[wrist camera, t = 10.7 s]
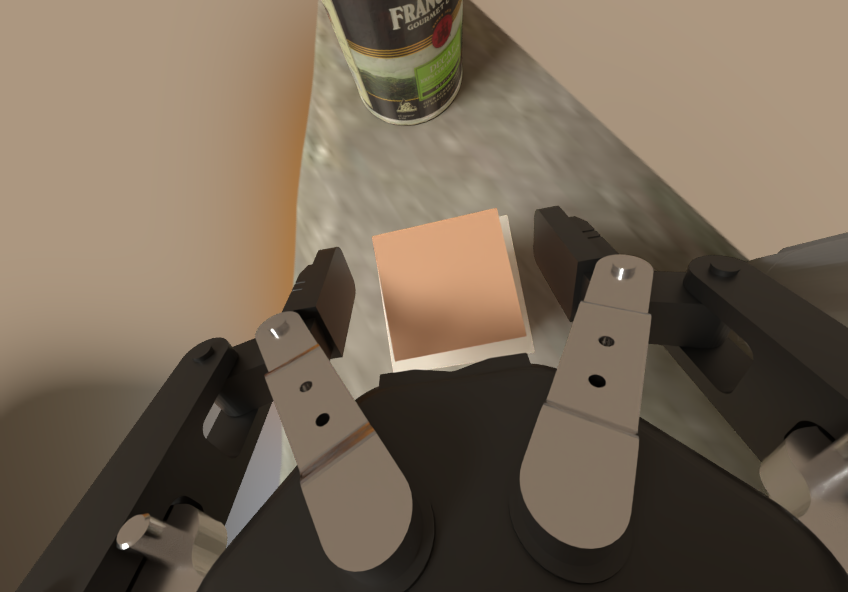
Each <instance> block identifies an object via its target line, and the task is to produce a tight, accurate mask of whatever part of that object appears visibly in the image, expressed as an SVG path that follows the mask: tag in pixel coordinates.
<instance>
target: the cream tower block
mask: <svg viewBox="0 0 848 592" xmlns="http://www.w3.org/2000/svg"><path fill="white" fill-rule="evenodd" d="M499 220H500V224H501V228H502V233H503V237H504V241H505V245H506V250H507V254H508V258H509V262H510V267H511V271H512V275H513V279H514V284H515V288H516V292H517V296H518V301H519V305H520V309H521V313H522V318H523V322H524V326H525V330H526V335H527V336H525V337H520V338H514V339H509V340H504V341H499V342H494V343H489V344H484V345H478V346H473V347H468V348H463V349H458V350H453V351H447V352H442V353H437V354H432V355H427V356H422V357H416V358H411V359H406V360H401V361H396V362H395V359H394V354H393V348H392V343H391V337H390V332H389V327H388V321H387V316H386V310H385V305H384V299H383V294H382V289H381V294H382V301H383V307H384V314H385V320H386V327H387V334H388V340H389V347H390V354H391V360H392V367H393V373H394V372H400V371H407V370H414V369H418V370H429V369H435V368H442V367H448V366H454V365H461V364H467V363H474V362H480V361H483V360H486V359H488V358H493V357H500V356H506V355H513V354H519V353H527V354H531V353H535V350H534V345H533V340H532V335H531V330H530V326H529V321H528V316H527V311H526V306H525V301H524V296H523V291H522V286H521V281H520V276H519V271H518V266H517V261H516V256H515V252H514V247H513V242H512V237H511V232H510V227H509V222H508V217H507V215H503V216H499ZM378 274H379V272H378ZM379 281H380V278H379ZM380 287H381V283H380Z"/></svg>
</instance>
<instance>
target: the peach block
mask: <svg viewBox="0 0 848 592" xmlns="http://www.w3.org/2000/svg"><path fill="white" fill-rule="evenodd" d="M372 240H373V245H374V250H375V256H376V261H377V267H378V272H379V278H380V283H381V289H382V294H383V299H384V305H385V310H386V316H387V321H388V327H389V332H390V337H391V343H392V348H393V354H394V359H395V362H396V361H401V360H406V359H411V358H416V357H422V356H427V355H432V354H437V353H442V352H447V351H453V350H458V349H463V348H468V347H473V346H478V345H484V344H489V343H494V342H499V341H504V340H509V339H514V338H520V337H525V336H527V335H526V330H525V326H524V322H523V318H522V313H521V309H520V305H519V301H518V296H517V292H516V288H515V284H514V279H513V275H512V271H511V267H510V262H509V258H508V254H507V250H506V245H505V241H504V237H503V233H502V228H501V224H500V220H499V215H498V211H497V208H494V209H489V210H485V211H481V212H476V213H472V214H468V215H463V216H459V217H454V218H450V219H446V220H441V221H437V222H433V223H428V224H424V225H420V226H415V227H411V228H406V229H402V230H398V231H393V232H389V233H385V234H380V235H376V236H372Z"/></svg>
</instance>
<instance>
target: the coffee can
mask: <svg viewBox="0 0 848 592" xmlns="http://www.w3.org/2000/svg"><path fill="white" fill-rule="evenodd" d="M322 2H323V5H324V7H325V9H326V12H327V14H328V17H329V19H330V22H331V24H332V26H333V29H334V31H335V34H336V36H337V38H338V41H339V43H340V46H341V48H342V51H343V53H344V56H345V58H346V61H347V63H348V65H349V68H350V70H351V73H352V75H353V78H354V80H355V82H356V85H357V87H358V91H359V94H360V97H361V99H362V101H363V103H364V104H365V106H366V107H367V108H368V110H369V111H370V112H371V113H372V114H373V115H375V116H376V117H378V118H380V119H381V120H383V121H386V122H388V123H391V124H396V125H415V124H419V123H423V122H426V121H428V120H430V119H432V118H434V117H436V116H437V115H439V114H440V113H442V112H443V111H444V110H445V109H446V108H447V107H448V106H449V105H450V104H451V102H452V101H453V100H454V98H455V97H456V95H457V93H458V91H459V88H460V85H461V81H462V73H463V68H462V18H463V0H322Z"/></svg>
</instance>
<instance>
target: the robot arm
mask: <svg viewBox="0 0 848 592" xmlns="http://www.w3.org/2000/svg"><path fill="white" fill-rule="evenodd" d="M533 249H534V257H535V260H536V263H537V265H538V267H539V269H540V270H541V272H542V274H543V275H544V277H545V279H546V281H547V282H548V284H549V286H550V288H551V289H552V291H553V293H554V295H555V296H556V298H557V300H558V302H559V303H560V305H561V307H562V309H563V310H564V312H565V314H566V316H567V317H568V319H569V321H570V322H572V321H573V324H572V327H571V330H570V333H569V336H568V339H567V342H566V345H565V348H564V350H563V353H562V356H561V359H560V362H559V365H558V368H557V369H556V368H553V367H549V366H545V365H539V364H531V363H530V361H529V358H528V355H527V353H519V354H513V355H506V356H500V357H493V358H488V359H486V360H483V361H480V362H478V363H475V364H472V365H470V366H467V367H464V368H462V369H459V370H456V371H452V372H448V371H433V370H418V369H414V370H407V371H400V372H394V373H387V374H381V375H380V381H379V386H378V387H376V388H374V389H372V390H370V391H368V392H366V393H365V394H363V395H361V396H360V397H358V398H357V399H356V400H354V398H353V397H352V395H351V394H350V392H349V391H348V389H347V388H346V386H345V384H344V383H343V381H342V380H341V378H340V377H339V375H338V373H337V372H336V370H335V369H334V367H333V366H332V364H331V363H330V359H333V358H339V357H343V352H344V347H345V342H346V337H347V333H348V328H349V323H350V318H351V313H352V308H353V304H354V299H355V284H354V280H353V278H352V275H351V273H350V270H349V268H348V265H347V263H346V260H345V258H344V255H343V253H342V251H341V249H340V248H339V247H334V248H329V249H323V250H319V251H318V253H317V255H316V257H315V260H314V262H313V264H312V265H308V266H307V267H306V268H305V269H304V270H303V271H302V272H301V273H300V274H299V276H298V278H297V281H296V284H295V285H294V287H293V289H292V291H293V292H291V294H290V296H289V298H288V300H287V302H286V304H285V306H284V309H283V311H282V313H279V314H276V315H274V316H272V317H270V318H268V319H267V320H266V321H264V322H263V323H262V324H261V325H260V326H259V328H258V329H257V331H256V334H255V339H252V340H249V341H247V342H244V343H242V344H239V345H236V346H234V347H232V346H231V345H230V344H229V342H228V341H227V340H226V339H224V338H212V339H209V340H206V341H204V342H202V343H200V344H198V345H197V346H195V347H194V348H192V349H191V350H190V351H189V352H188V353H187V354H186V355H185V356H184V357H183V358H182V360H181V361H180V362H179V364H178V365H177V367H176V368H175V369H174V371H173V372H172V374H171V375H170V376H169V378H168V379H167V381H166V382H165V383H164V385H163V386H162V388H161V389H160V390H159V392H158V393H157V395H156V396H155V397H154V399H153V400H152V402H151V403H150V405H149V406H148V407H147V409H146V410H145V411H144V413H143V414H142V416H141V417H140V418H139V420H138V421H137V422H136V424H135V425H134V427H133V428H132V430H131V431H130V432H129V434H128V435H127V436H126V438H125V439H124V441H123V442H122V443H121V445H120V446H119V448H118V449H117V451H116V452H115V453H114V455H113V456H112V457H111V459H110V460H109V462H108V463H107V464H106V466H105V467H104V469H103V470H102V471H101V473H100V474H99V476H98V477H97V478H96V480H95V481H94V483H93V484H92V485H91V487H90V488H89V489H88V491H87V493H86V494H85V495H84V497H83V498H82V499H81V501H80V502H79V504H78V505H77V506H76V508H75V509H74V511H73V512H72V513H71V515H70V516H69V518H68V519H67V521H66V522H65V523H64V525H63V526H62V527H61V529H60V530H59V531H58V533H57V534H56V536H55V537H54V538H53V540H52V541H51V543H50V544H49V546H48V547H47V548H46V550H45V551H44V552H43V554H42V555H41V556H40V558H39V559H38V561H37V562H36V564H35V565H34V566H33V568H32V569H31V571H30V572H29V573H28V575H27V576H26V578H25V579H24V580H23V582H22V583H21V584H20V586H19V587H18V589H17V590H16V591H15V592H848V233H843V234H839V235H835V236H831V237H827V238H823V239H819V240H815V241H811V242H807V243H803V244H799V245H795V246H791V247H787V248H783V249H782V250H780V252H778V254H774V255H770V256H766V257H761V258H758V259H754V260H751V261H748V262H745V261H742V260H739V259H736V258H732V257H727V256H718V255H708V256H702V257H698V258H695V259H694V260H692V261H691V262H690V264H689V267H688V269H687V272H660V271H653V268H652V266H651V265H650V264H649V263H648V262H646V261H645V260H643V259H641V258H638V257H635V256H631V255H619V254H618V253H617V252H616V251H615V250H614V249H613V248H612V247H611V246H610V245H609V244H608V243H607V242H606V241H605V239H604V238H603V237H600V234H599V233H598V232H597V231H594V228H593V227H592V226H591V225H590V224H589V223H588V222H587V221H584V220H582V219H580V218H577V217H575V216H574V217H568V216H567V215H566V214H565V212H564V211H563V210H562V209H561V208H560V207H559V206H553V207H548V208H543V209H537V210H536V211H535V215H534V245H533ZM648 344H659V345H663V346H664V347H665V348H666V350H667V351H668V352H669V353H670V354H671V355H672V357H673V358H674V359H675V360H676V361H677V363H678V364H679V365H680V366H681V367H682V368H683V370H684V371H685V372H686V373H687V374H688V376H689V377H690V378H691V379H692V380H693V381H694V383H695V384H696V385H697V386H698V387H699V389H700V390H701V391H702V392H703V393H704V395H705V396H706V397H707V398H708V399H709V400H710V402H711V403H712V404H713V405H714V406H715V408H716V409H717V410H718V411H719V412H720V413H721V415H722V416H723V417H724V418H725V419H726V421H727V422H728V423H729V424H730V425H731V427H732V428H733V429H734V430H735V431H736V432H737V434H738V435H739V436H740V437H741V438H742V440H743V441H744V442H745V443H746V444H747V445H748V447H749V448H750V449H751V450H752V451H753V453H754V454H755V455H756V456H757V457H758V459H759V460H760V461H761V462H762V463H761V465H760V477H761V480H762V482H763V484H764V486H765V488H766V490H767V491H768V493H769V496H766V495H764V494H763V493H761V492H760V491H758V490H756V489H755V488H753V487H752V486H750V485H748V484H747V483H745V482H743V481H742V480H740V479H739V478H737V477H735V476H734V475H732V474H731V473H729V472H727V471H726V470H724V469H723V468H721V467H719V466H718V465H716V464H715V463H713V462H711V461H710V460H708V459H707V458H705V457H703V456H702V455H700V454H699V453H697V452H695V451H694V450H692V449H691V448H689V447H687V446H686V445H684V444H682V443H681V442H679V441H678V440H676V439H674V438H673V437H671V436H670V435H668V434H666V433H665V432H663V431H662V430H660V429H658V428H657V427H655V426H654V425H652V424H650V423H649V422H647V421H646V420H644V419H642V418H641V417H639V415H640V406H641V398H642V390H643V382H644V374H645V366H646V358H647V349H648ZM273 401H274V403H275V406H276V409H277V411H278V414H279V417H280V419H281V422H282V425H283V427H284V430H285V433H286V436H287V438H288V441H289V444H290V446H291V449H292V452H293V454H294V457H295V460H296V462H297V466H296V467H295V468H294V469H293V471H292V472H291V473H290V474H289V475H288V476H287V478H286V479H285V480H284V481H283V482H282V484H281V485H280V486H279V487H278V488H277V489H276V491H275V492H274V493H273V494H272V495H271V496H270V498H269V499H268V500H267V501H266V502H265V504H264V505H263V506H262V507H261V508H260V509H259V510H258V512H257V513H256V514H255V515H254V516H253V518H252V519H251V520H250V521H249V522H248V523H247V525H246V526H245V527H244V528H243V529H242V530H241V532H240V533H239V534H238V535H237V536H236V537H235V539H234V540H233V541H232V542H231V543H230V545H229V546H228V547H227V548H226V545H227V531H226V528H225V524H226V521H227V519H228V516H229V513H230V511H231V508H232V506H233V503H234V500H235V498H236V495H237V492H238V490H239V487H240V485H241V482H242V479H243V477H244V474H245V472H246V469H247V466H248V464H249V461H250V459H251V456H252V453H253V451H254V448H255V445H256V443H257V440H258V438H259V435H260V433H261V430H262V427H263V425H264V422H265V419H266V417H267V414H268V411H269V409H270V406H271V404H272V402H273ZM213 403H215V404H216V405H217V406H218V407H220V408H221V411H220V413H219V415H218V417H217V419H216V421H215V423H214V425H213V427H212V429H211V431H210V433H209V435H208V436H207V439H206V438H205V437H204V435H203V423H204V420H205V418H206V416H207V415H208V413H209V411H210V409H211V407H212V405H213Z"/></svg>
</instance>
